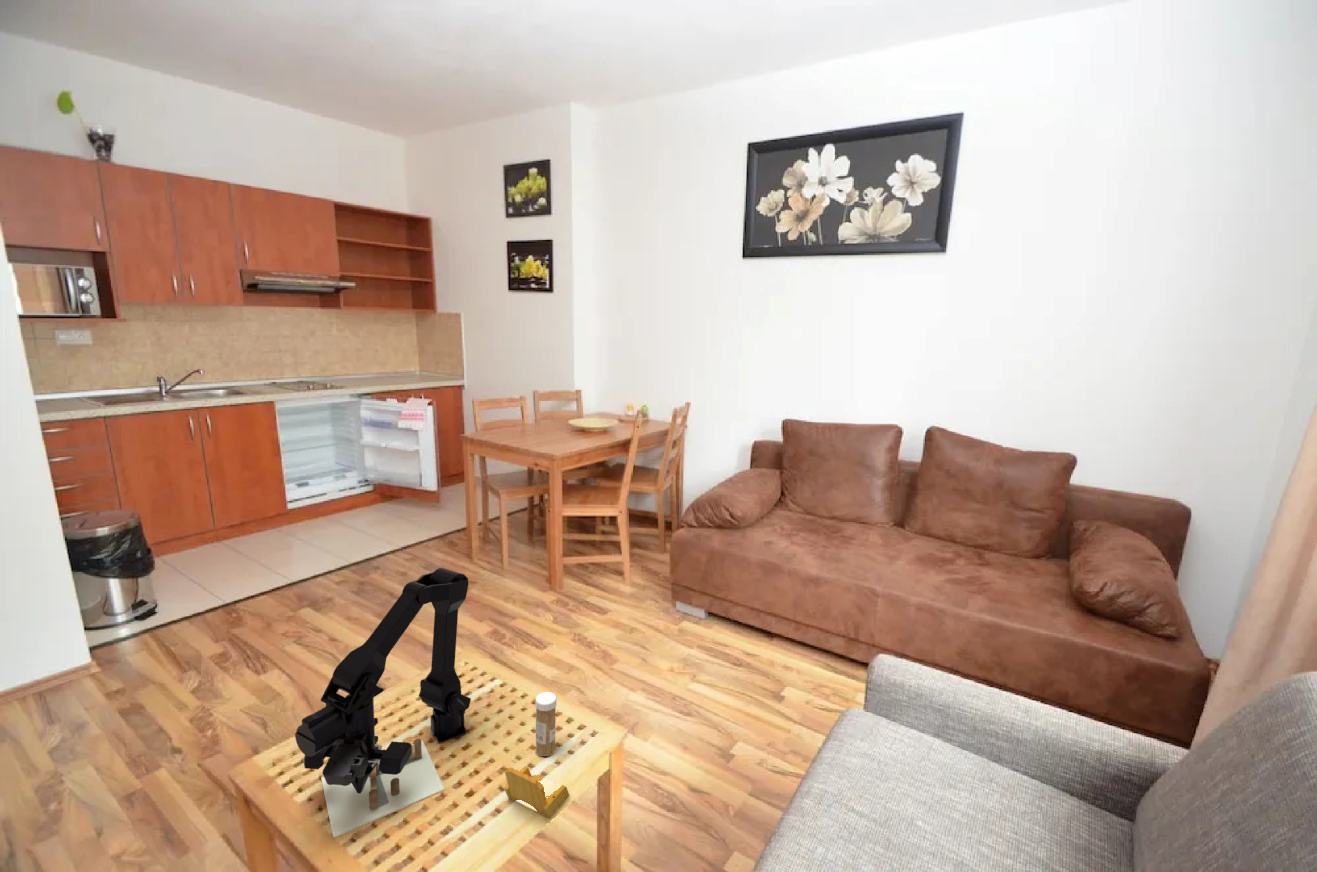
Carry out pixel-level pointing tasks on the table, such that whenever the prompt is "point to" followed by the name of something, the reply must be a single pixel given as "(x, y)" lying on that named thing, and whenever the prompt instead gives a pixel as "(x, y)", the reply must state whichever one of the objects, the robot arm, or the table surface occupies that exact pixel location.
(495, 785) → the table surface
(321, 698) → the robot arm
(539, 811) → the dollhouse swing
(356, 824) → the card
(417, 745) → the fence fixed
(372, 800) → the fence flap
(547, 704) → the sprinkles bottle
